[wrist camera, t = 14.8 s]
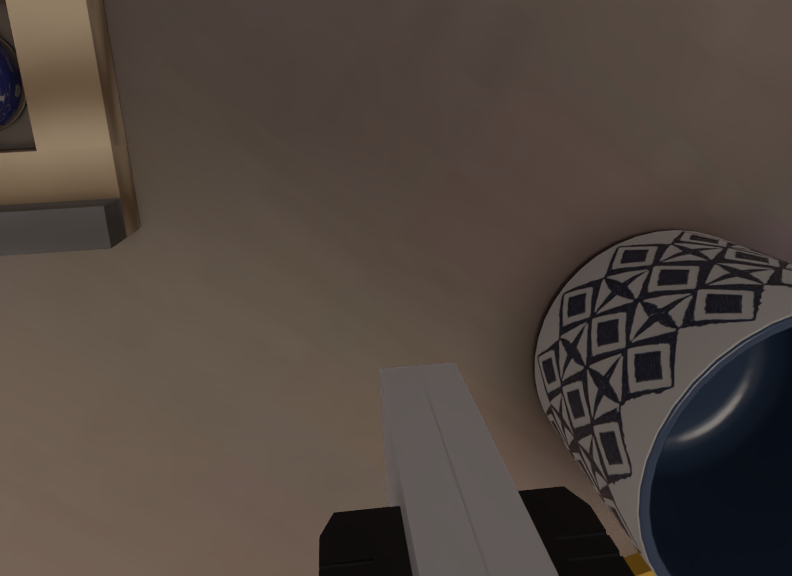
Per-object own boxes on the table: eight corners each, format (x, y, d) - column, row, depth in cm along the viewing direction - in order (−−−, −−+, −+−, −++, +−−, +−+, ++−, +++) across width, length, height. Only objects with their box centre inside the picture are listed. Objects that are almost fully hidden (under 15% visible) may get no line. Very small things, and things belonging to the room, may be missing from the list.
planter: (560, 491, 43) (670, 677, 29) (504, 274, 38) (604, 375, 24) (784, 418, 43) (998, 569, 29) (757, 193, 38) (998, 248, 24)
